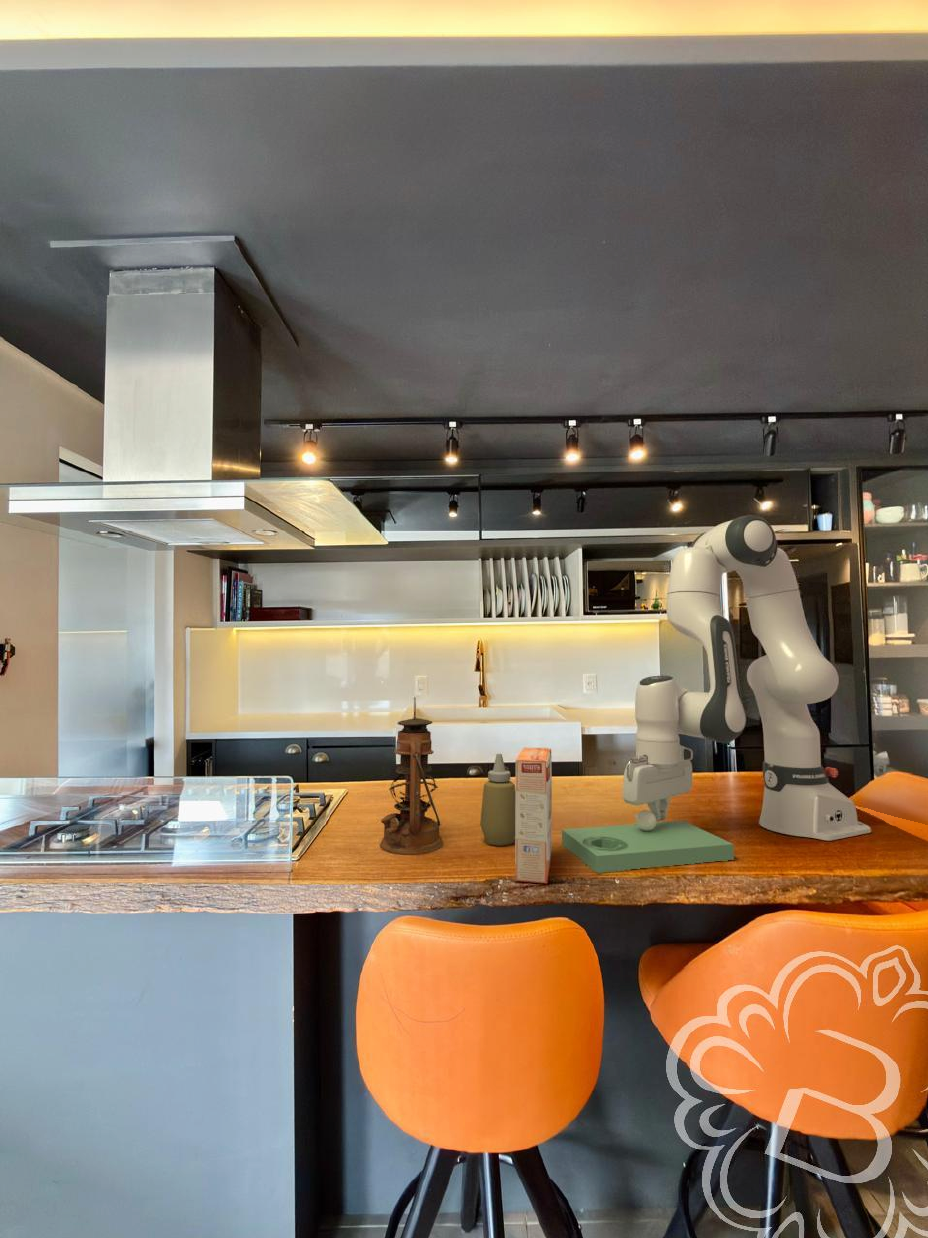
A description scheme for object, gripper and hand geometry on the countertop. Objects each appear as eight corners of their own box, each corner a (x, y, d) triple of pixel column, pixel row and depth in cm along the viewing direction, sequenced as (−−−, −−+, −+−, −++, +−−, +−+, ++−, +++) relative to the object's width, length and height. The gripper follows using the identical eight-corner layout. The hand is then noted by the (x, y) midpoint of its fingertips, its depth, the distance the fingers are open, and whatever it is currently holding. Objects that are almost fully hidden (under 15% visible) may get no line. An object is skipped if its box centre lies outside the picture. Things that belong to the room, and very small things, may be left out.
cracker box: (549, 885, 96) (548, 759, 98) (514, 882, 97) (513, 758, 99) (553, 856, 110) (552, 746, 111) (522, 854, 111) (521, 746, 112)
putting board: (683, 834, 123) (683, 820, 123) (734, 860, 108) (733, 844, 108) (562, 844, 117) (561, 829, 117) (597, 873, 101) (596, 855, 102)
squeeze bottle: (526, 841, 119) (526, 754, 120) (502, 851, 113) (501, 759, 114) (497, 833, 124) (496, 749, 126) (472, 842, 119) (471, 754, 120)
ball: (649, 826, 119) (649, 807, 119) (660, 832, 115) (659, 812, 115) (632, 828, 118) (631, 808, 118) (642, 834, 114) (642, 813, 114)
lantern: (379, 832, 125) (380, 695, 127) (438, 829, 127) (438, 694, 129) (380, 860, 108) (381, 700, 110) (448, 856, 110) (448, 700, 112)
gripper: (640, 760, 112) (642, 832, 111) (697, 750, 124) (698, 815, 123) (614, 756, 117) (615, 825, 116) (671, 746, 129) (672, 808, 128)
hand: (658, 819), depth 120 cm, fingers closed
